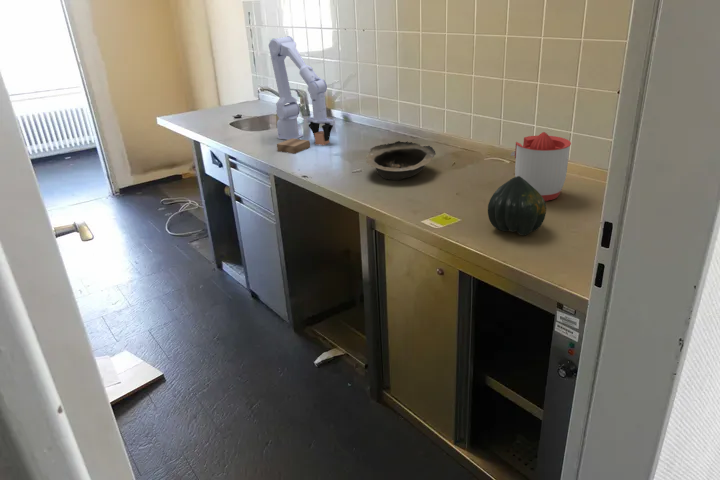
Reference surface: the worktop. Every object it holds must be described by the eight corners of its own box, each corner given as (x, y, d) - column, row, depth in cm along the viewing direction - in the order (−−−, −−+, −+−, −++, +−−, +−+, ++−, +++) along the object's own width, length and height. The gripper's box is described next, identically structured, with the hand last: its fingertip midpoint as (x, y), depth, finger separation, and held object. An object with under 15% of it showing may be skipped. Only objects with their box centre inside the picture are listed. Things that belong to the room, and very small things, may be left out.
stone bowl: (414, 158, 210) (415, 136, 205) (446, 182, 189) (448, 157, 185) (355, 168, 202) (355, 145, 198) (382, 193, 182) (382, 168, 177)
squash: (513, 229, 135) (541, 176, 135) (469, 214, 146) (495, 166, 147) (539, 250, 144) (564, 200, 144) (495, 235, 155) (519, 189, 156)
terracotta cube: (315, 144, 239) (314, 133, 237) (321, 141, 242) (320, 130, 240) (323, 145, 236) (322, 134, 234) (329, 142, 240) (328, 131, 238)
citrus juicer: (520, 182, 179) (524, 122, 171) (572, 191, 169) (580, 128, 161) (498, 197, 169) (502, 134, 160) (553, 208, 158) (560, 141, 150)
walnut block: (277, 151, 233) (276, 144, 231) (292, 145, 240) (292, 138, 239) (295, 154, 227) (294, 146, 226) (310, 148, 235) (309, 140, 233)
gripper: (300, 109, 234) (303, 140, 239) (327, 112, 226) (329, 143, 232) (310, 106, 239) (313, 136, 245) (337, 108, 231) (339, 139, 237)
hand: (322, 139), depth 239 cm, fingers open, 5 cm apart
